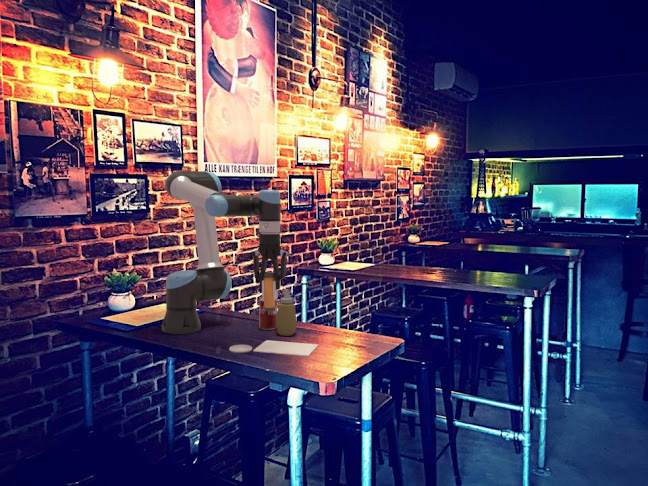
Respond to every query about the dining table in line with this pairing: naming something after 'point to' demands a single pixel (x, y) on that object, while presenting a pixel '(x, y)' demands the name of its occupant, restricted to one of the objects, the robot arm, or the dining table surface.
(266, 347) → the paper
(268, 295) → the thermos bottle
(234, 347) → the coaster
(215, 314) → the dining table surface
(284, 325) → the squeeze bottle
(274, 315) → the soda can
